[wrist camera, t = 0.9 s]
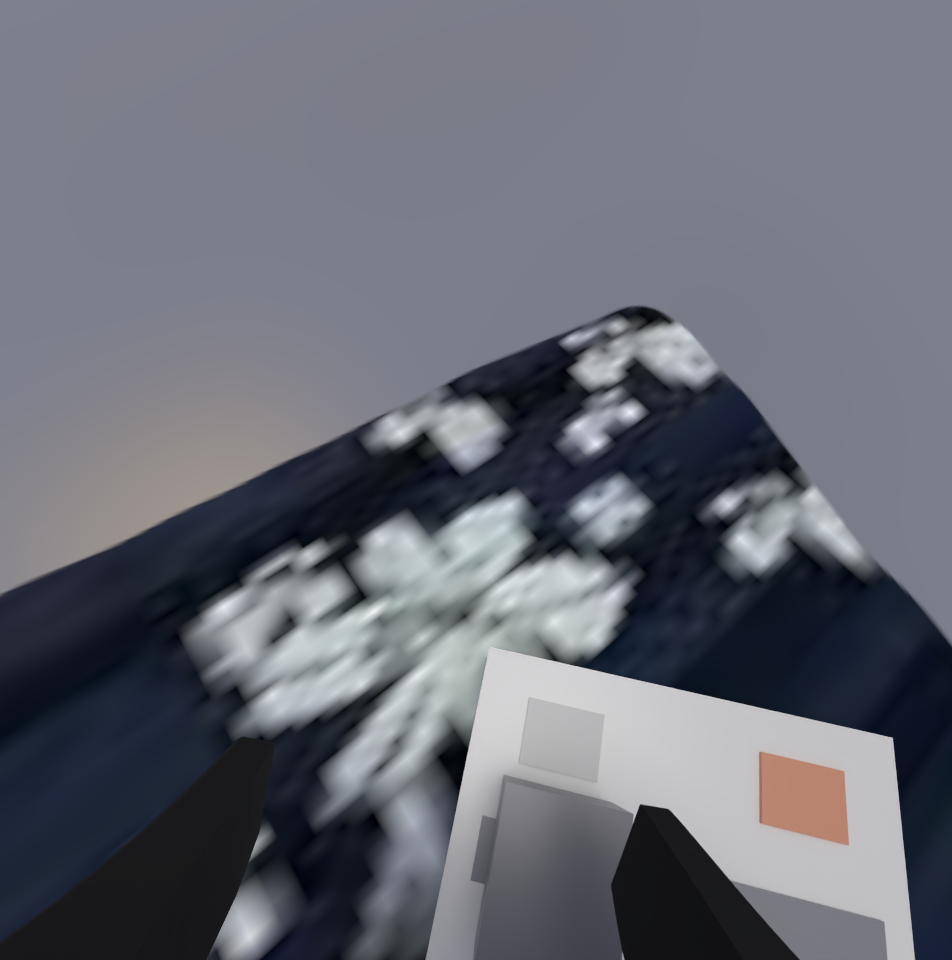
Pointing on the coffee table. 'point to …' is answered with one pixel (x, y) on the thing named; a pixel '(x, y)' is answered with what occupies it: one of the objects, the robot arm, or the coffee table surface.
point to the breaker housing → (695, 799)
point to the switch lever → (551, 876)
